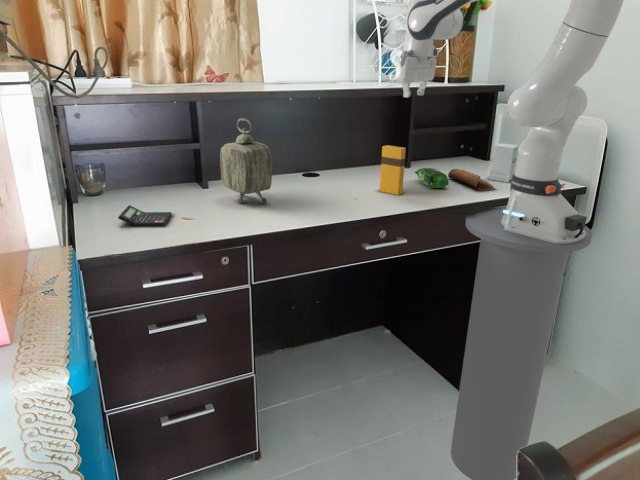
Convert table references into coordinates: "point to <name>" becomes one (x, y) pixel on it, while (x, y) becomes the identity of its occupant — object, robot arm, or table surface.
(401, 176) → the block
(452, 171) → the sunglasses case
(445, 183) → the snack package
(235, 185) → the tabletop clock
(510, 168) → the white packaging box
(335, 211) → the table surface
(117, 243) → the table surface
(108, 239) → the table surface
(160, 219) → the calculator
